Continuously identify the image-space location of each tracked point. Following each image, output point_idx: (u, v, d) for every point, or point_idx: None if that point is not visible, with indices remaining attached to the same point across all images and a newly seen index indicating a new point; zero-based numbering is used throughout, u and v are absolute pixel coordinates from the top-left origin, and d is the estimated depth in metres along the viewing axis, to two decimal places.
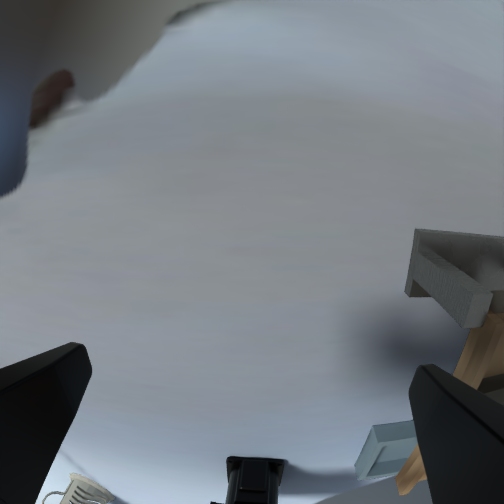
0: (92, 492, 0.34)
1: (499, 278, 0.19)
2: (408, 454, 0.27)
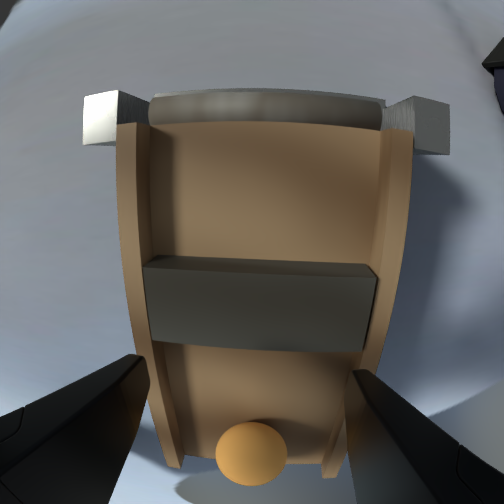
0: None
1: None
2: None
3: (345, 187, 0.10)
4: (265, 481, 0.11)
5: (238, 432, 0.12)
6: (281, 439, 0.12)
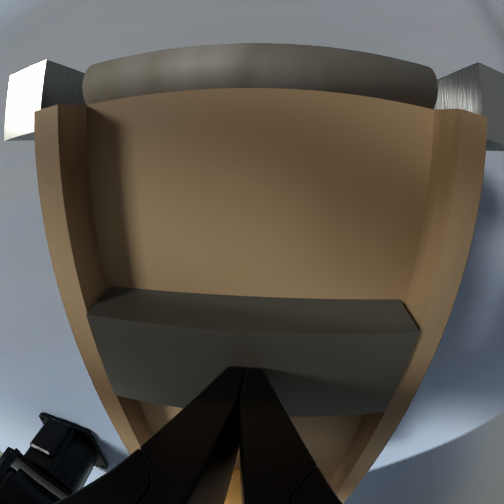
0: None
1: None
2: None
3: (382, 192, 0.06)
4: None
5: (229, 493, 0.09)
6: None
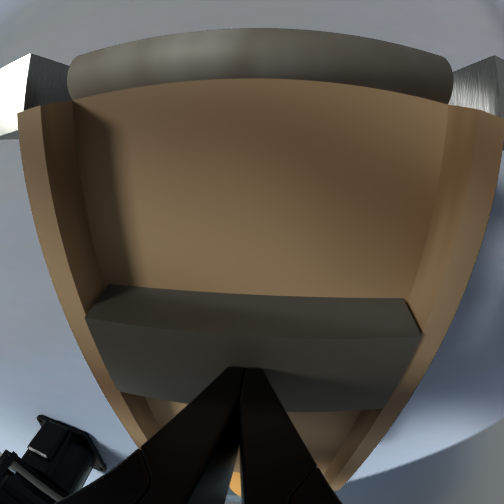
0: None
1: None
2: None
3: (389, 192, 0.06)
4: None
5: None
6: None
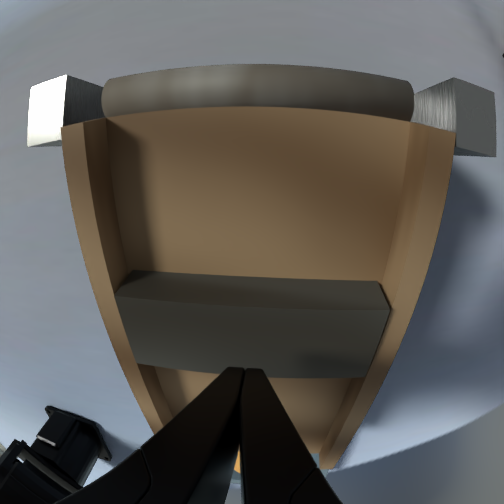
0: None
1: None
2: None
3: (361, 193, 0.08)
4: None
5: None
6: None
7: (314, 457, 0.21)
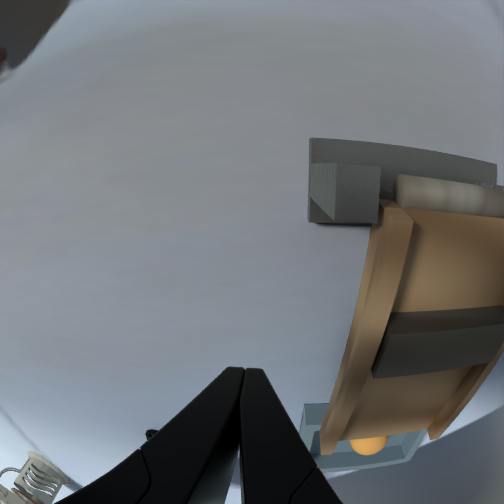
0: (45, 471, 0.32)
1: None
2: None
3: None
4: None
5: None
6: None
7: (403, 438, 0.24)
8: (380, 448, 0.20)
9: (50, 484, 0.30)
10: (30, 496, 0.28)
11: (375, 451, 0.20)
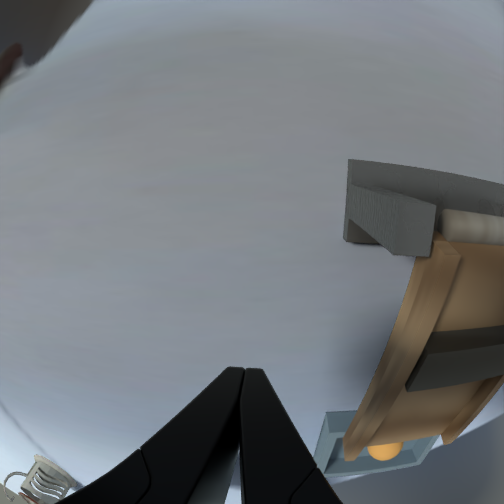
0: (53, 475, 0.32)
1: None
2: None
3: None
4: None
5: None
6: None
7: (415, 443, 0.24)
8: (395, 455, 0.20)
9: (58, 488, 0.30)
10: (36, 500, 0.28)
11: (391, 457, 0.20)
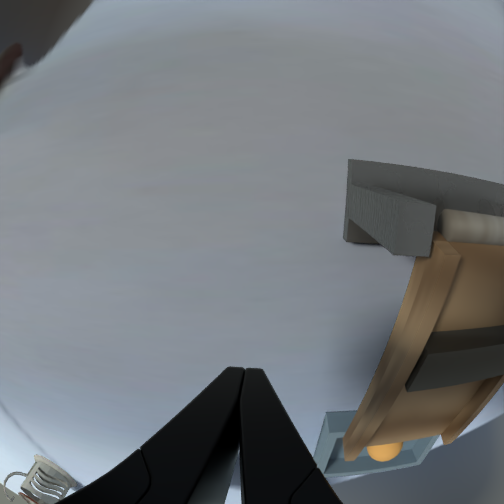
0: (53, 475, 0.32)
1: None
2: None
3: None
4: None
5: None
6: None
7: (415, 443, 0.24)
8: (394, 457, 0.20)
9: (58, 488, 0.30)
10: (36, 500, 0.28)
11: (390, 459, 0.20)
